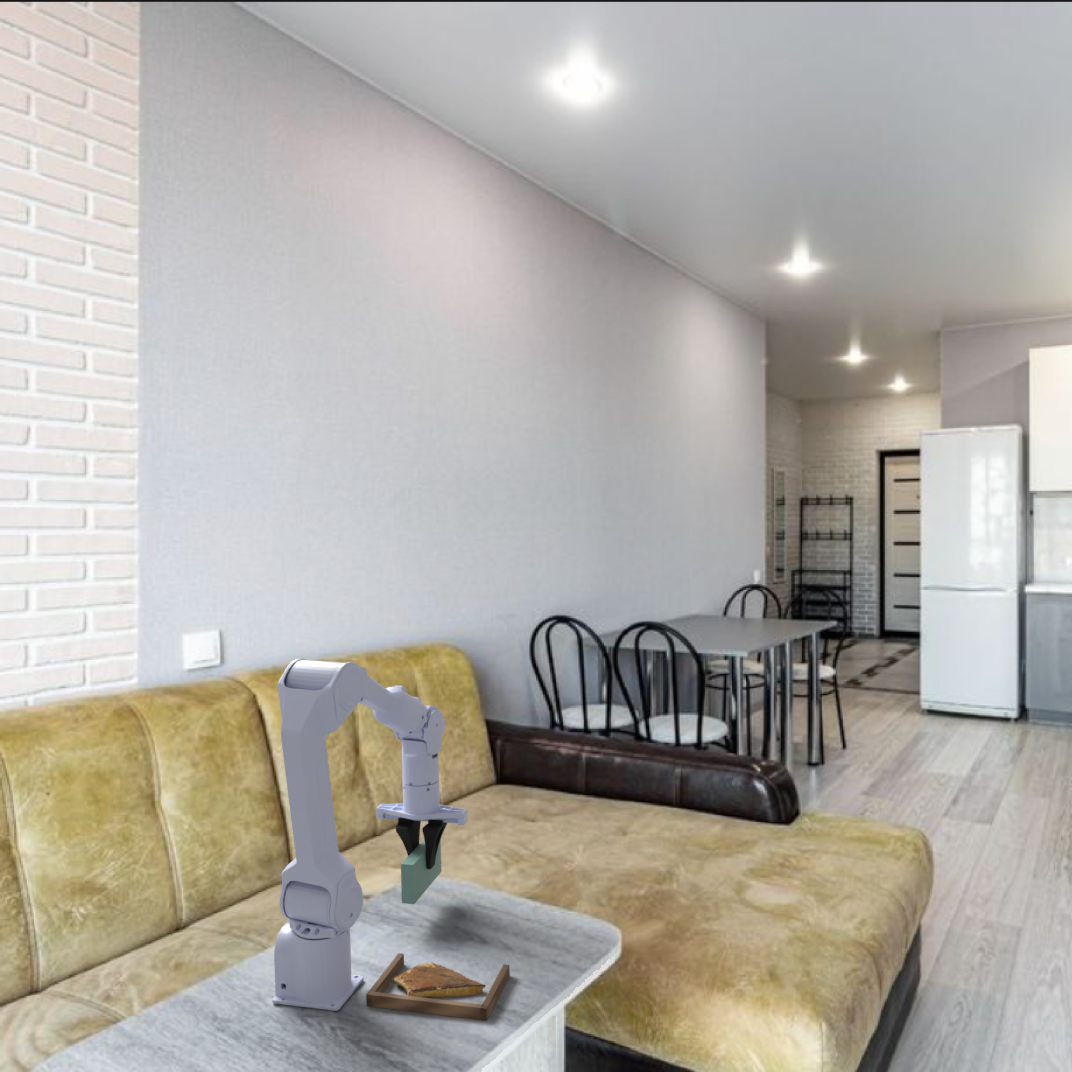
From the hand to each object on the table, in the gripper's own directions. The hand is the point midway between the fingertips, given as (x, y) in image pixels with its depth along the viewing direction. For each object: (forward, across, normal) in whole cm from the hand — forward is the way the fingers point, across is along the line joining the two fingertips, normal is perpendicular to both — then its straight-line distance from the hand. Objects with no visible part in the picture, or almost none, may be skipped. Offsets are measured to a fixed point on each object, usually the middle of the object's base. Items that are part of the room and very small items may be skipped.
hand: (423, 866), depth 139 cm
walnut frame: (+8, -10, +20) cm, 24 cm away
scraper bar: (+3, 0, 0) cm, 3 cm away
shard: (+8, -9, +18) cm, 22 cm away
